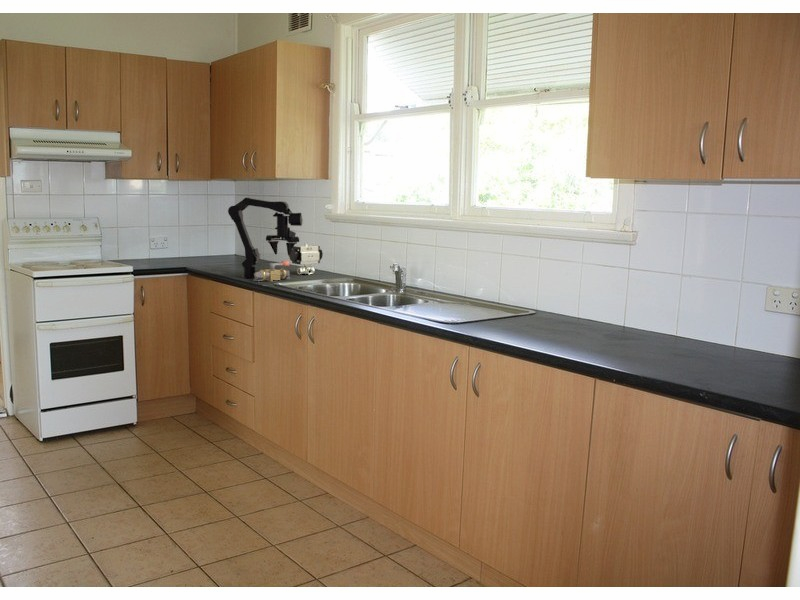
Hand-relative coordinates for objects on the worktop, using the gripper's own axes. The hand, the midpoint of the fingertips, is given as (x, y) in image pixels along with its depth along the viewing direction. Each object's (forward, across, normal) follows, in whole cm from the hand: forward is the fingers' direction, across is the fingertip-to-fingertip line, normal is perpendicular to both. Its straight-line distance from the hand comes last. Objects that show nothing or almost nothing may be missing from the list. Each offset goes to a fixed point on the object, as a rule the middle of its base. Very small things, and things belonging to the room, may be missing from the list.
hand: (282, 255), depth 382 cm
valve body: (+13, 0, +8) cm, 15 cm away
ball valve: (+13, +2, -22) cm, 26 cm away
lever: (+7, -1, +4) cm, 8 cm away
